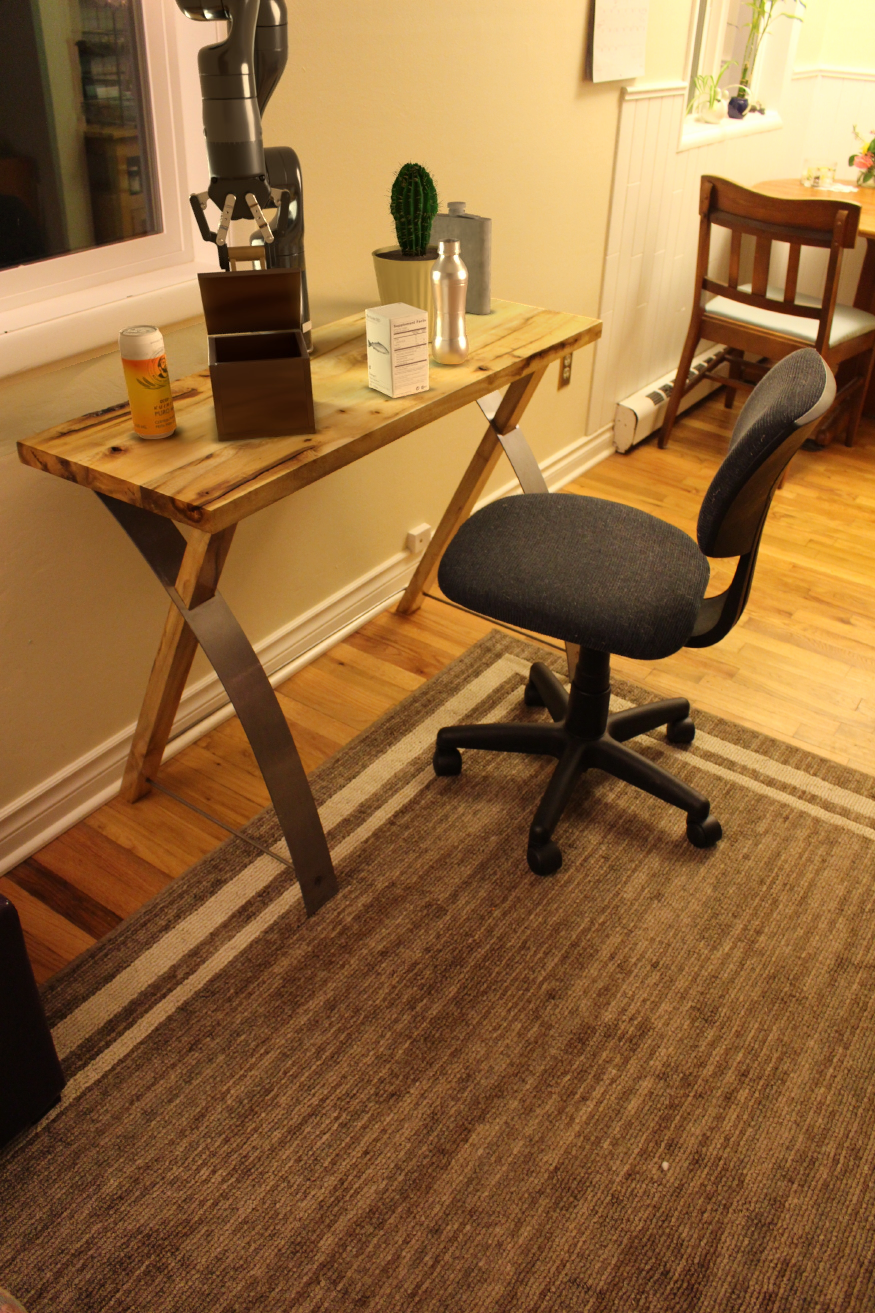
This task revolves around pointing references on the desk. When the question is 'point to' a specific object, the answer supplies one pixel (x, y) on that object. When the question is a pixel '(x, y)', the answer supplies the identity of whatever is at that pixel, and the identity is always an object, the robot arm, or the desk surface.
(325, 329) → the desk surface
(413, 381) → the white packaging box
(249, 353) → the chest
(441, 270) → the metal water bottle
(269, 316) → the lid
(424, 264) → the potted cactus
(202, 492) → the desk surface
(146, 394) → the beer can
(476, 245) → the hip flask
